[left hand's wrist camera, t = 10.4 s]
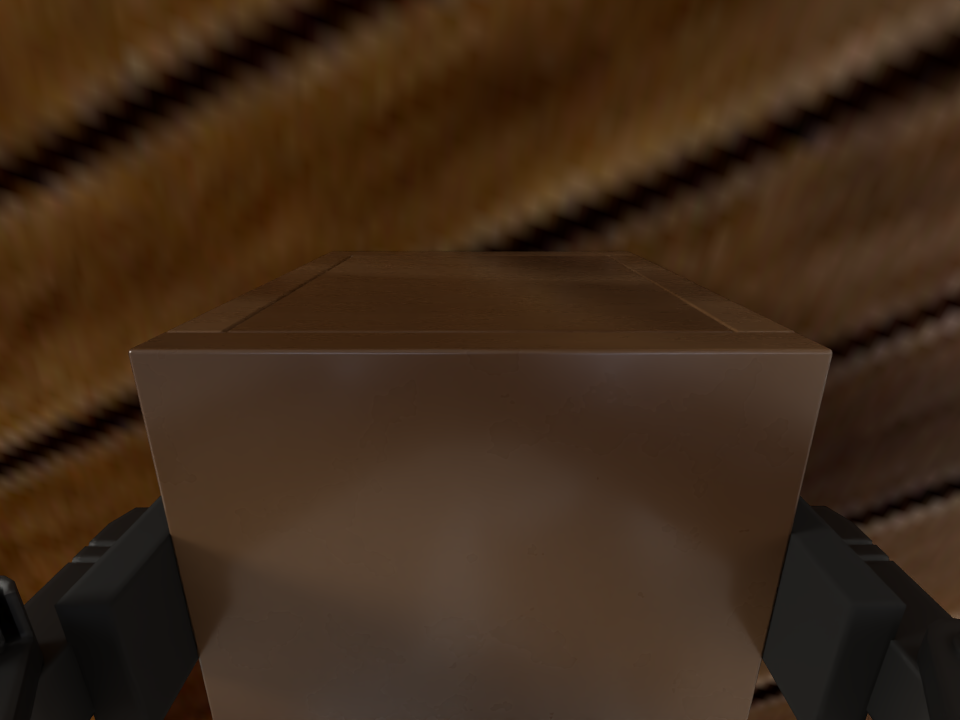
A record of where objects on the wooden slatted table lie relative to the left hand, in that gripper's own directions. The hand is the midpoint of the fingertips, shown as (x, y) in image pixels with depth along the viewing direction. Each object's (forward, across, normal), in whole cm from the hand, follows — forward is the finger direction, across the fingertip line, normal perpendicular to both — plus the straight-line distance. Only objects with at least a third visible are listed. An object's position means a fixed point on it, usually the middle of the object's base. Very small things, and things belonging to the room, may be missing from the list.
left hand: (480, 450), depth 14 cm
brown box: (+6, 0, -5) cm, 7 cm away
